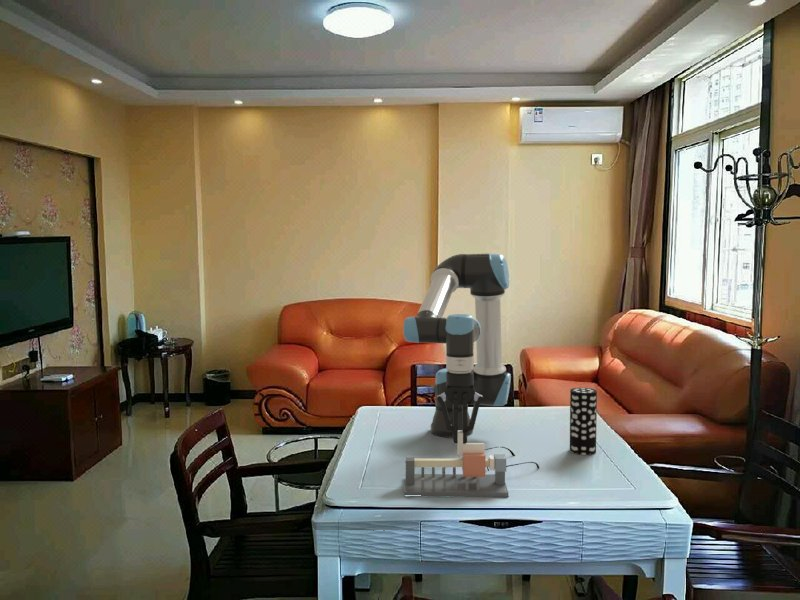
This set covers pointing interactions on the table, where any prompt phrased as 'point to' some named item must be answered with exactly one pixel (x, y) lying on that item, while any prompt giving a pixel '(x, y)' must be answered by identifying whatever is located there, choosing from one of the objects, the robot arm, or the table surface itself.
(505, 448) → the eyeglasses
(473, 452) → the banded orange cube
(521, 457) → the table surface
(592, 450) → the white-spotted black cylinder
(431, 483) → the cable comb board
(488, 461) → the cream long bar
